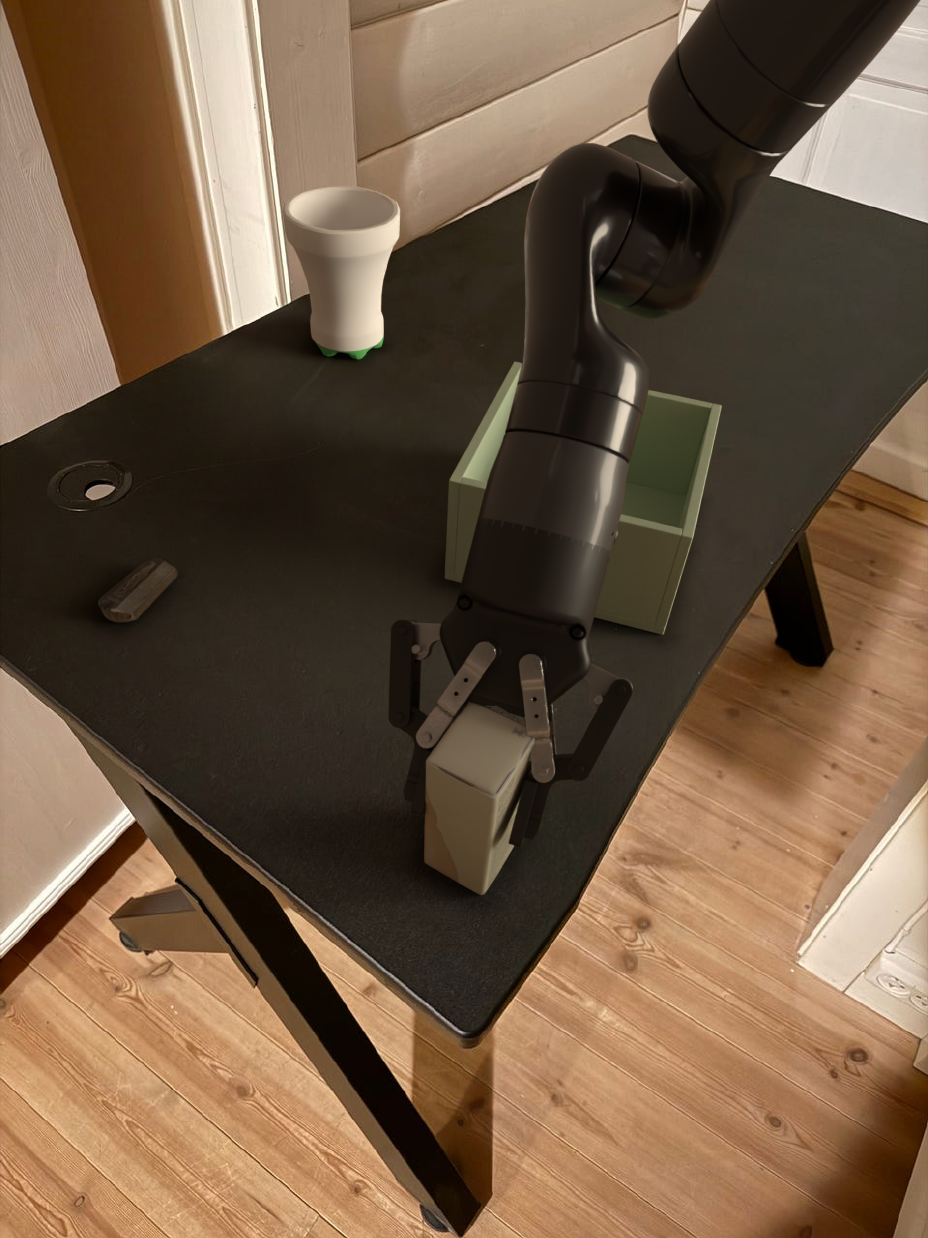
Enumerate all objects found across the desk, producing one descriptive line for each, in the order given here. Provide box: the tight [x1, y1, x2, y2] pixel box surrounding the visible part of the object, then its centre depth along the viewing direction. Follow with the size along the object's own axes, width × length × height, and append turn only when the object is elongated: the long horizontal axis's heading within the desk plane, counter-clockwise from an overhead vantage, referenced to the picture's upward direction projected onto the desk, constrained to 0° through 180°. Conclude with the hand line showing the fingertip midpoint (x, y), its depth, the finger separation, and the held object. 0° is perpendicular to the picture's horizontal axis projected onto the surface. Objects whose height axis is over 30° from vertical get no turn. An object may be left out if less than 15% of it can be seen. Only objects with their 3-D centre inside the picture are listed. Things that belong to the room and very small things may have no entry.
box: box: [423, 702, 535, 896], centre depth 51 cm, size 5×4×11 cm
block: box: [98, 557, 179, 623], centre depth 68 cm, size 4×6×2 cm, turn 153°
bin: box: [444, 361, 723, 636], centre depth 73 cm, size 18×18×10 cm
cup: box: [282, 185, 401, 360], centre depth 91 cm, size 11×11×14 cm
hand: (468, 826), depth 50 cm, fingers closed on box, 5 cm apart
